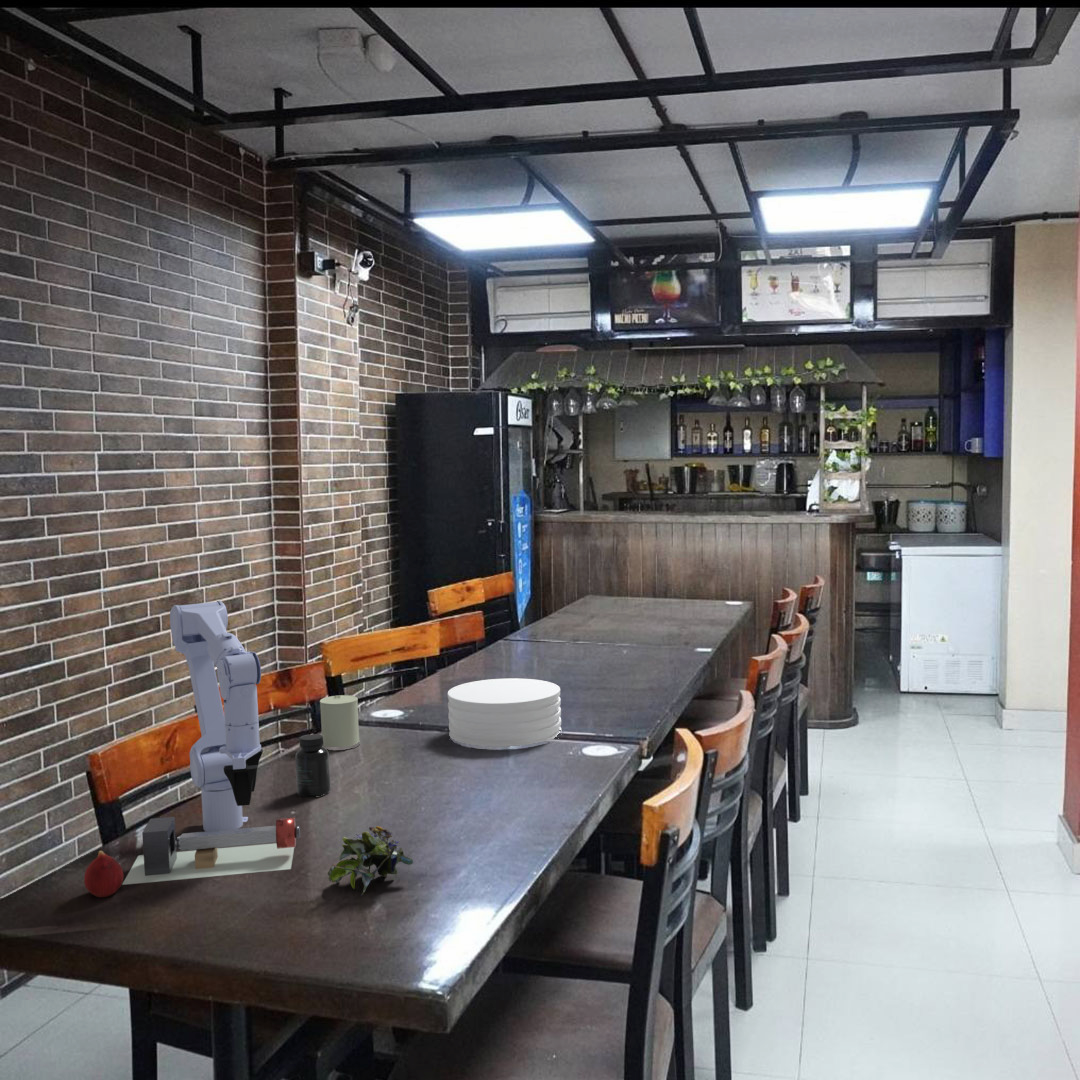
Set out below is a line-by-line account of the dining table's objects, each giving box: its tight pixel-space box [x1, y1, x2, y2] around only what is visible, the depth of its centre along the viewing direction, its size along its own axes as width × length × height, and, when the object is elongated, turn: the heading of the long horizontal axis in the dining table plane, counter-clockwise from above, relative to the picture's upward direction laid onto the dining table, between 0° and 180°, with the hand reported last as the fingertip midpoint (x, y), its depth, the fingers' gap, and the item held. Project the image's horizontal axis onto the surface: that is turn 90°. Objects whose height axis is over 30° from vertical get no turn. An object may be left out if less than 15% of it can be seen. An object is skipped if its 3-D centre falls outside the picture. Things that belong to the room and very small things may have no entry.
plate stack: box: [447, 677, 562, 747], centre depth 262 cm, size 28×28×12 cm
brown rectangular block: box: [195, 847, 218, 869], centre depth 181 cm, size 5×3×2 cm, turn 10°
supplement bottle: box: [294, 733, 331, 798], centre depth 220 cm, size 7×7×12 cm
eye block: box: [142, 816, 178, 876], centre depth 180 cm, size 7×4×7 cm, turn 10°
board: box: [121, 842, 295, 886], centre depth 181 cm, size 13×27×1 cm, turn 100°
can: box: [319, 694, 360, 747], centre depth 257 cm, size 9×9×12 cm
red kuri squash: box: [83, 850, 124, 898], centre depth 169 cm, size 6×6×8 cm
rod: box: [174, 817, 301, 852], centre depth 182 cm, size 5×21×5 cm, turn 100°
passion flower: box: [327, 825, 414, 897], centre depth 171 cm, size 11×11×12 cm
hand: (245, 798), depth 186 cm, fingers open, 7 cm apart
